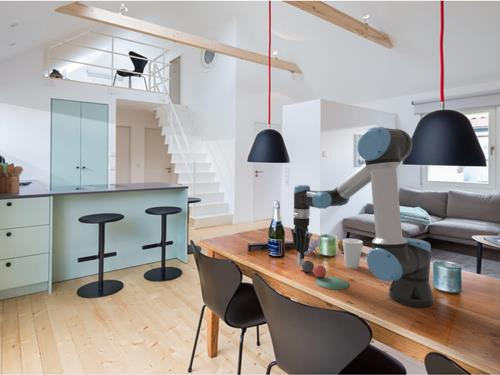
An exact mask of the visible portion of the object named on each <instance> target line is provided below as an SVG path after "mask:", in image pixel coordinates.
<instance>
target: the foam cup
mask: <svg viewBox="0 0 500 375" xmlns="http://www.w3.org/2000/svg"><path fill="white" fill-rule="evenodd" d="M342 240H343V248H344V252H343V257H344V266H345V267H346V268H348V269H359V267H360V266H359V265H360V261H361V256H362V250H363V247H364V245H363V244H364V242H363V240H360V239H357V238H344V239H342Z"/></svg>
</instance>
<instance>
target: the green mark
mask: <svg viewBox="0 0 500 375" xmlns="http://www.w3.org/2000/svg"><path fill="white" fill-rule="evenodd" d="M315 284H316V285H317V286H318V287H320V288H323V289H328V290H333V291H340V290H341V291H342V290H346V289H348V288H349V287H350V283H349V282H348V281H346V280H345V279H343V278H339V277H335V276H324V277H323V278H318V277H317V278H316V279H315Z"/></svg>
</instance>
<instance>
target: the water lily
mask: <svg viewBox="0 0 500 375" xmlns="http://www.w3.org/2000/svg"><path fill="white" fill-rule="evenodd" d="M321 237H322V236H319V237H318V239H317V238H315V239H314V240H313V239H310V244H309V247H308V252H305V253H304V256H306V255H308V254H310V253H311V252H314V251H315V253H316V254H317V256H318V257H320V254H319V253H318V251H317V250H316V249H317V248H318V247H319V246H320V244H321V243H320V241H321Z"/></svg>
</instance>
